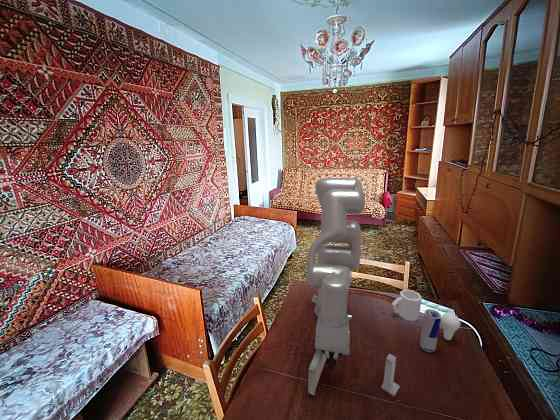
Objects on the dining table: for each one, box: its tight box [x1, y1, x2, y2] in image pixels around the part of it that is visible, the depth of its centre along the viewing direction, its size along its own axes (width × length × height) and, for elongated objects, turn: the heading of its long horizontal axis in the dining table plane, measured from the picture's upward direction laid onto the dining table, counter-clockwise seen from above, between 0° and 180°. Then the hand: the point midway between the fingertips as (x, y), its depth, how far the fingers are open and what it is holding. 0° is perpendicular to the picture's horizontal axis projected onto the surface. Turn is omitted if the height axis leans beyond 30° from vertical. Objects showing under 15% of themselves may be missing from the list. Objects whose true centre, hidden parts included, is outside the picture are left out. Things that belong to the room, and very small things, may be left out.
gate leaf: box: [307, 349, 327, 396], centre depth 85 cm, size 20×2×9 cm, turn 155°
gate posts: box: [380, 353, 401, 397], centre depth 87 cm, size 28×4×11 cm, turn 45°
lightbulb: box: [440, 312, 461, 341], centre depth 97 cm, size 6×6×11 cm
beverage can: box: [419, 308, 442, 353], centre depth 93 cm, size 5×5×15 cm
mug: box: [391, 289, 423, 322], centre depth 111 cm, size 12×9×10 cm
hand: (331, 365), depth 82 cm, fingers closed
